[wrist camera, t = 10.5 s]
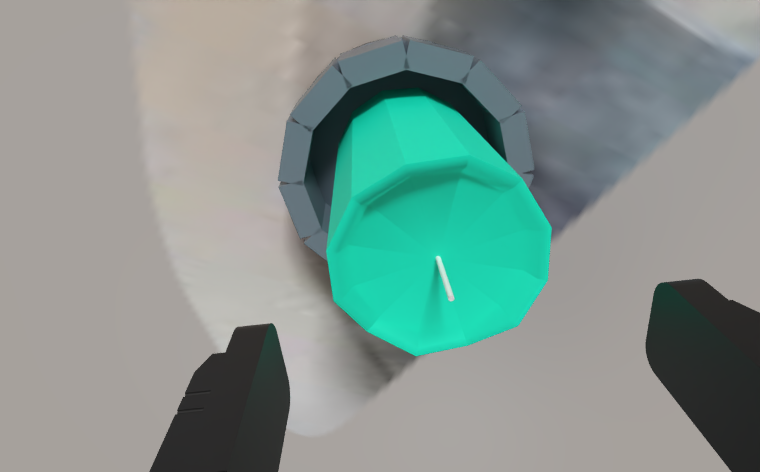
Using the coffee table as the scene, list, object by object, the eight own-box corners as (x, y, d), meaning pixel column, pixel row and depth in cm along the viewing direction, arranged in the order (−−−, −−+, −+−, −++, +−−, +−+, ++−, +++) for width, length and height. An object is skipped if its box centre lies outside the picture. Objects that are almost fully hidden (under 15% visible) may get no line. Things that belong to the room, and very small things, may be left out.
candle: (317, 114, 21) (278, 230, 10) (449, 65, 21) (554, 133, 10) (364, 231, 24) (373, 422, 13) (483, 190, 23) (597, 356, 12)
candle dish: (480, 5, 20) (507, 6, 17) (519, 213, 25) (547, 249, 21) (259, 78, 21) (239, 93, 18) (333, 267, 26) (330, 310, 22)
